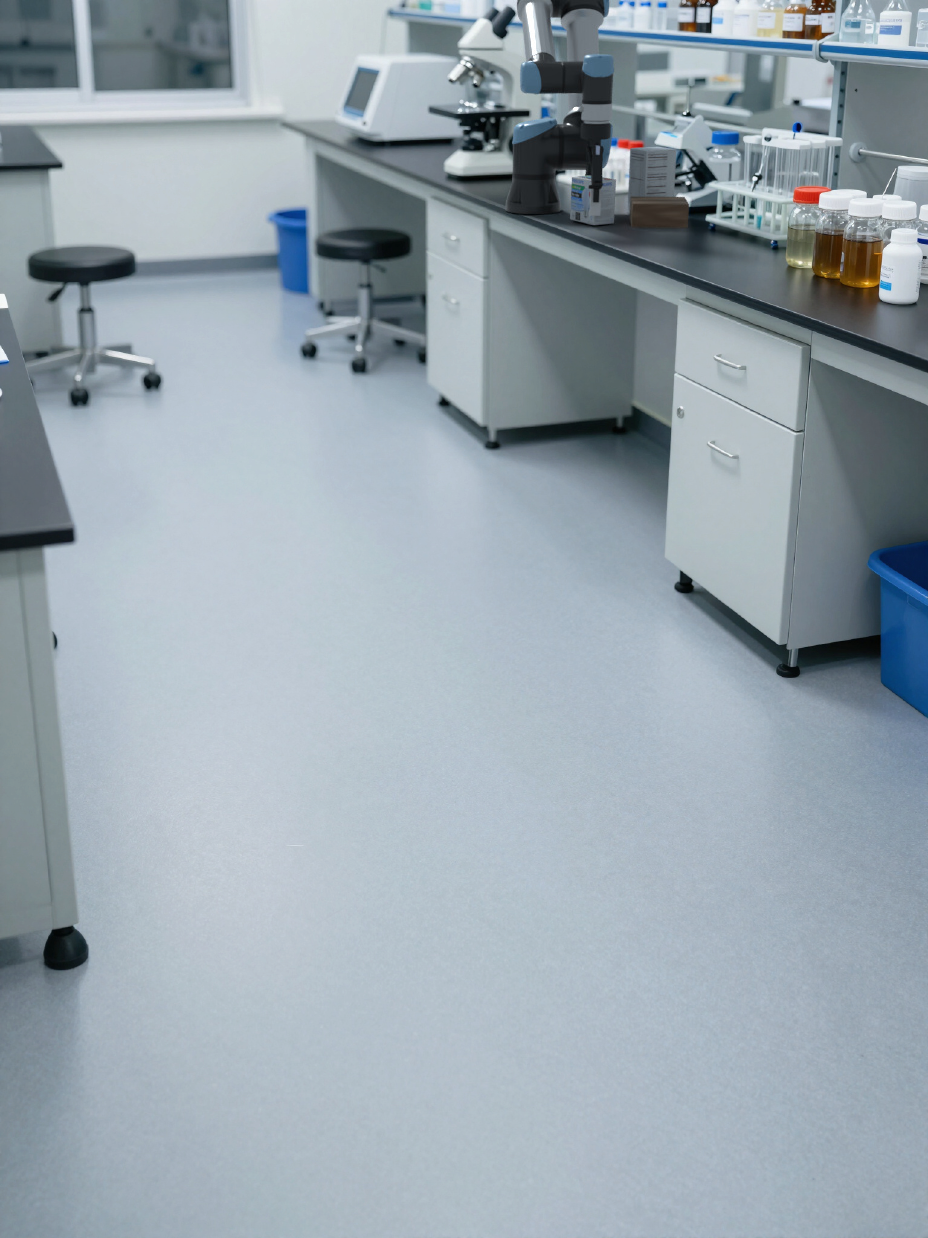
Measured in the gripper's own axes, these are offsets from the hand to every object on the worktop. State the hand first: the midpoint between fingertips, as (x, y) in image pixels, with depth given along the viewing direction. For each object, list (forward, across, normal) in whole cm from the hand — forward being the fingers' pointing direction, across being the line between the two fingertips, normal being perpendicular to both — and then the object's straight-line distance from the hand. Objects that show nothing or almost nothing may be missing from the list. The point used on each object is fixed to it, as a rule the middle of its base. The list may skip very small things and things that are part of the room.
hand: (592, 211), depth 326 cm
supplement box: (+3, -15, +17) cm, 23 cm away
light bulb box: (+3, 0, 0) cm, 3 cm away
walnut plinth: (+3, 0, +17) cm, 17 cm away
